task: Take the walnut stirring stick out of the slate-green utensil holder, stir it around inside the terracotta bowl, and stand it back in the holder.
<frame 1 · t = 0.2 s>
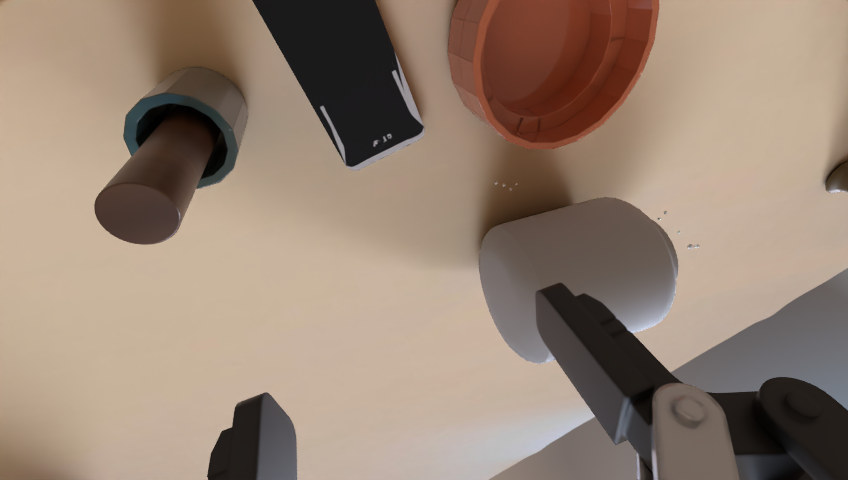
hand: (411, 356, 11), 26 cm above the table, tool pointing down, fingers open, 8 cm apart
stirring stick: (204, 110, 29), point 1 cm above the table, touching holder
holder: (206, 108, 29), on the table
white oval cylinder: (563, 218, 46), on the table
bowl: (528, 40, 33), on the table
smartphone: (347, 68, 31), on the table
kendama: (835, 174, 58), on the table
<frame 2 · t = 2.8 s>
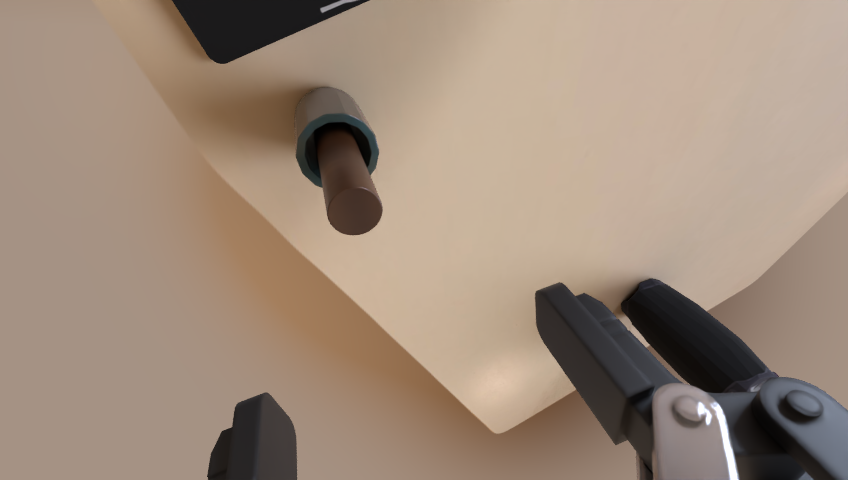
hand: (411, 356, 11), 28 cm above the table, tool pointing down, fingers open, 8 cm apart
portable speaker: (640, 295, 64), on the table
stirring stick: (329, 123, 33), point 1 cm above the table, touching holder
holder: (329, 121, 34), on the table
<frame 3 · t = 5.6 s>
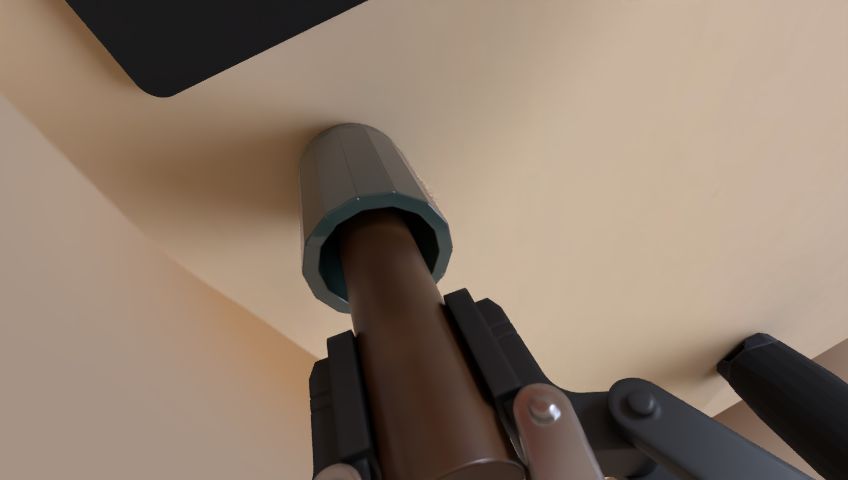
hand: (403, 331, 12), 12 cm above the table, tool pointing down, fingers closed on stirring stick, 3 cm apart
portable speaker: (740, 352, 50), on the table
stirring stick: (354, 180, 21), point 1 cm above the table, touching gripper, holder
holder: (353, 175, 21), on the table
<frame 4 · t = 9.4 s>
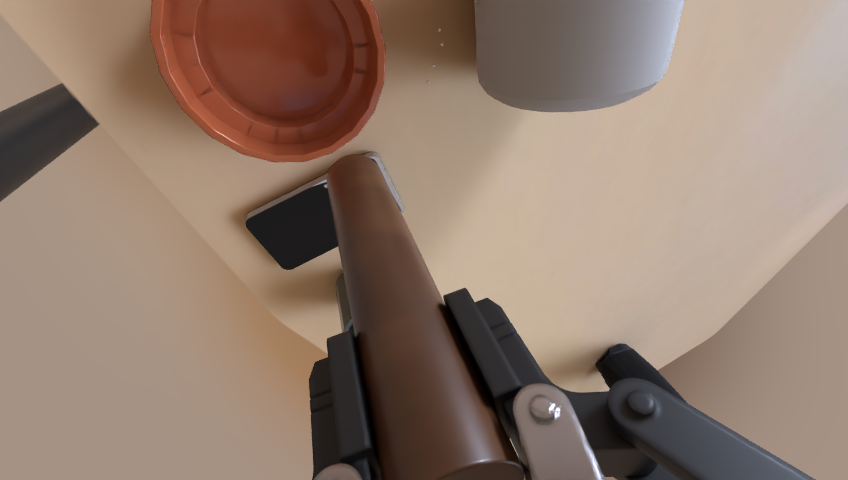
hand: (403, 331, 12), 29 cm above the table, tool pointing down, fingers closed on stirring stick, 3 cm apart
portable speaker: (612, 356, 77), on the table
stirring stick: (355, 180, 21), point 18 cm above the table, touching gripper
holder: (359, 283, 48), on the table
bowl: (280, 48, 32), on the table
smartphone: (327, 209, 41), on the table
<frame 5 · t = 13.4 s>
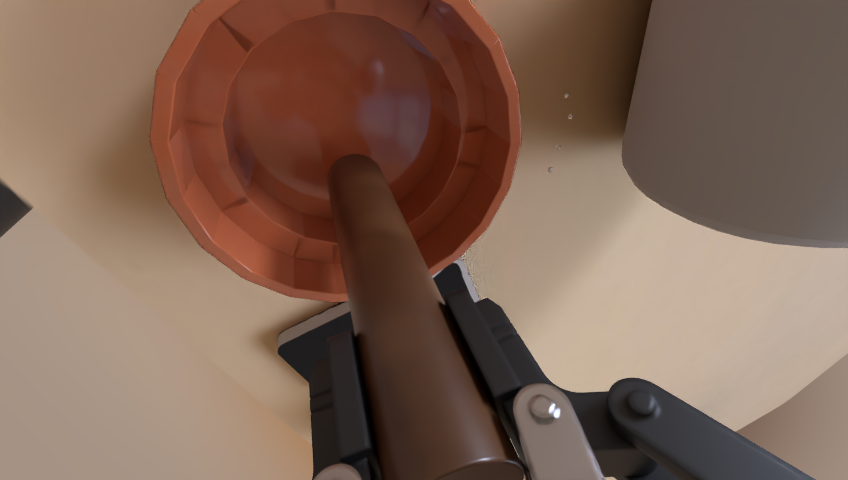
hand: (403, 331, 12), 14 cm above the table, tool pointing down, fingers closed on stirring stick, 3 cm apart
stirring stick: (354, 179, 21), point 2 cm above the table, touching gripper
bowl: (344, 126, 21), on the table
smartphone: (384, 319, 31), on the table
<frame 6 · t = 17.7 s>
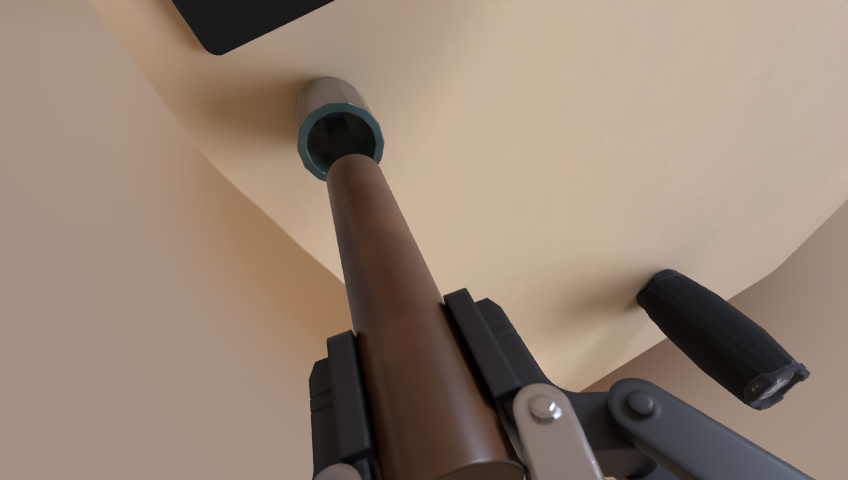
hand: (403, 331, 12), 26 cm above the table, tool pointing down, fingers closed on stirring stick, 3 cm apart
portable speaker: (656, 287, 62), on the table
stirring stick: (354, 179, 21), point 15 cm above the table, touching gripper
holder: (331, 113, 33), on the table
when the fingers open (12 cm above the table, at t = 21.0 s): stirring stick stays where it is, resting on holder.
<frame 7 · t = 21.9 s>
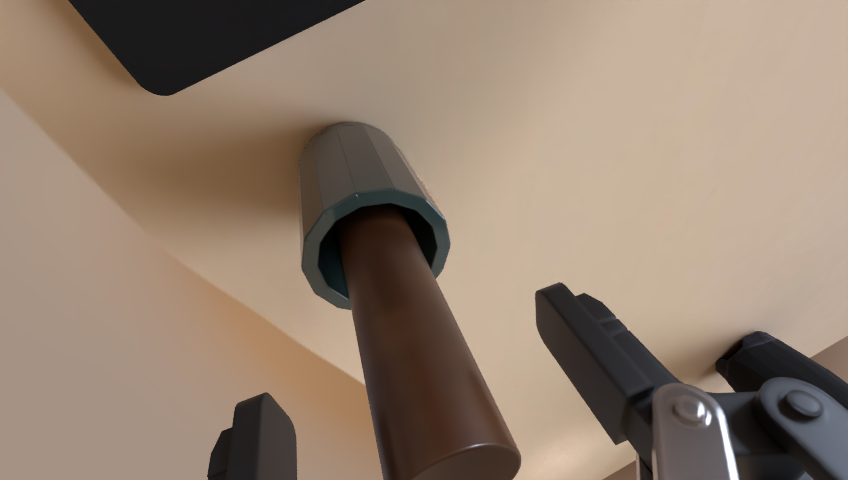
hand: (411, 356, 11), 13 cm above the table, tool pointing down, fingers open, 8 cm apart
portable speaker: (739, 350, 50), on the table
stirring stick: (354, 176, 21), point 1 cm above the table, touching holder
holder: (352, 173, 21), on the table
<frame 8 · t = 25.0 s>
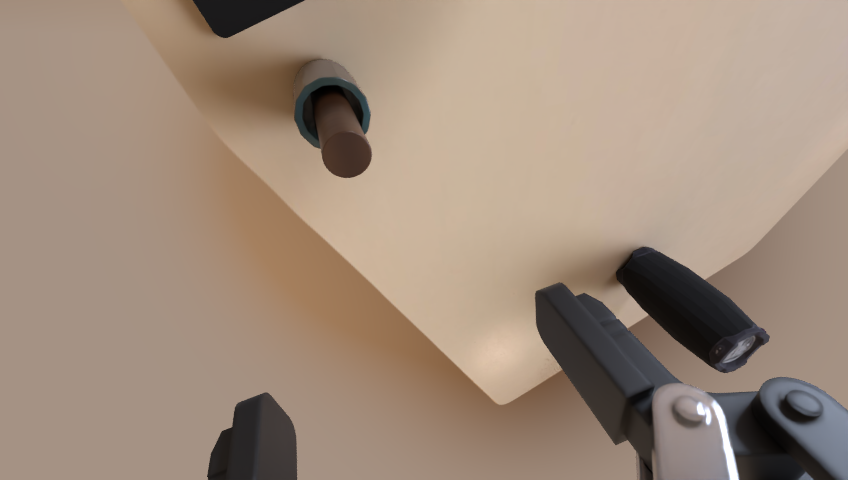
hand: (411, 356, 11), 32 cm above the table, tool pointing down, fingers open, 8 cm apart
portable speaker: (634, 264, 66), on the table
stirring stick: (326, 92, 36), point 1 cm above the table, touching holder
holder: (325, 92, 36), on the table
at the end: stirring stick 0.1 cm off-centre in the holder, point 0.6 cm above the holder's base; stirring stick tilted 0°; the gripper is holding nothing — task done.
